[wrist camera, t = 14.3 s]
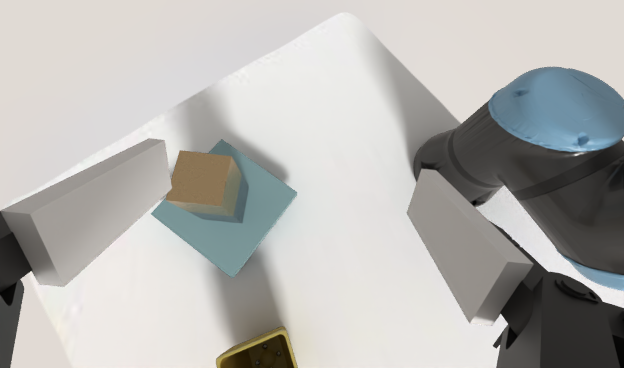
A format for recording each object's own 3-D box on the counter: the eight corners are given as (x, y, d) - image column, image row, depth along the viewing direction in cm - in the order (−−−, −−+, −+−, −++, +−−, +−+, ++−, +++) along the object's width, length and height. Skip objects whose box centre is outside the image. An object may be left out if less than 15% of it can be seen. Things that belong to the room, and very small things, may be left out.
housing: (249, 186, 41) (231, 156, 30) (242, 223, 39) (220, 206, 28) (211, 182, 41) (179, 150, 29) (203, 219, 39) (165, 200, 28)
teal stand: (296, 199, 46) (297, 192, 41) (238, 276, 41) (231, 277, 37) (228, 150, 48) (221, 139, 43) (165, 219, 43) (150, 213, 39)
